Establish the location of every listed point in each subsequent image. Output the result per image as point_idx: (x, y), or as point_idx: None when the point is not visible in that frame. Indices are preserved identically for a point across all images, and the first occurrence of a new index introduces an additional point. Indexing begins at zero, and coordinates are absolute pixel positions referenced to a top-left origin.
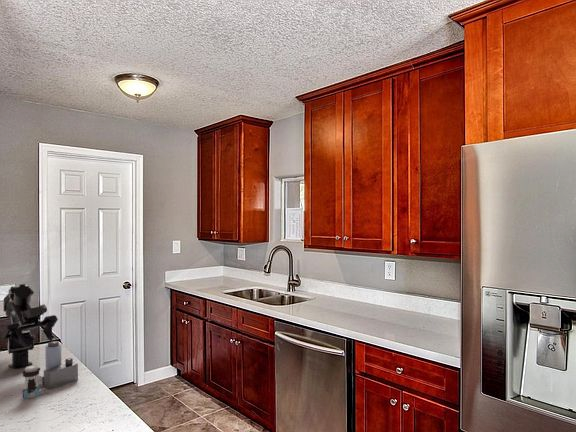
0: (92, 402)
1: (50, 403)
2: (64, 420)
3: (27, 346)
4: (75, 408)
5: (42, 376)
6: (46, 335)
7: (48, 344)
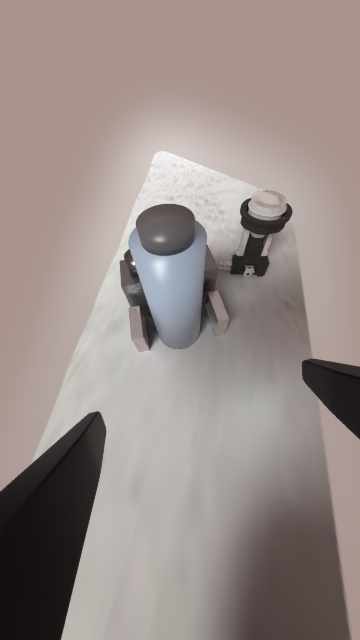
0: (167, 201)
1: (220, 227)
2: (216, 183)
3: (304, 363)
4: (194, 198)
5: (216, 293)
6: (70, 577)
7: (193, 219)
